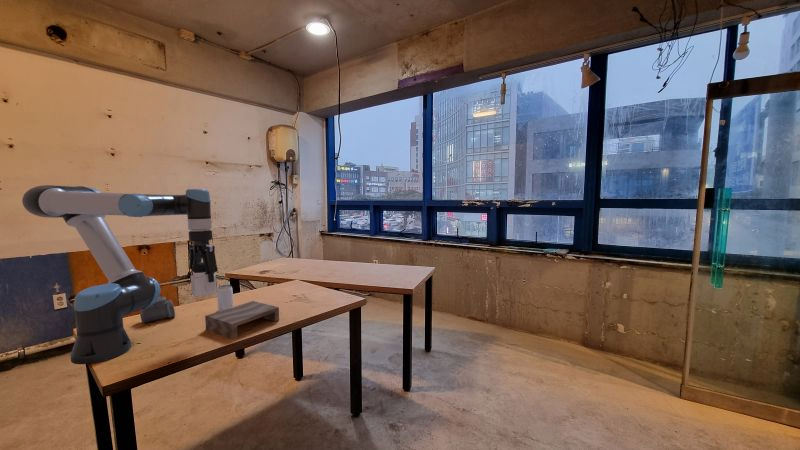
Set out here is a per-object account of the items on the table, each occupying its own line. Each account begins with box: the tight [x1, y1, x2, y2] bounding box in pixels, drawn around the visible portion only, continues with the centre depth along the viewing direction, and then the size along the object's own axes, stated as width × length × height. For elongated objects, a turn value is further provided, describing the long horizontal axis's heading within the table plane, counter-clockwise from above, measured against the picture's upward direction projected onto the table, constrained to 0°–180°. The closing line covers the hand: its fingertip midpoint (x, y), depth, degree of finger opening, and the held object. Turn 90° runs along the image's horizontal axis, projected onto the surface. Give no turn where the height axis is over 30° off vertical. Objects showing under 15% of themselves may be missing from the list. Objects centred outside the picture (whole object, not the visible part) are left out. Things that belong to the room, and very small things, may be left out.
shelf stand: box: [204, 300, 280, 340], centre depth 133 cm, size 18×22×6 cm
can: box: [216, 284, 234, 312], centre depth 151 cm, size 6×6×12 cm
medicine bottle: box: [190, 261, 218, 298], centre depth 118 cm, size 7×7×12 cm
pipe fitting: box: [139, 296, 176, 324], centre depth 138 cm, size 12×8×10 cm, turn 133°
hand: (204, 288), depth 118 cm, fingers closed on medicine bottle, 8 cm apart
